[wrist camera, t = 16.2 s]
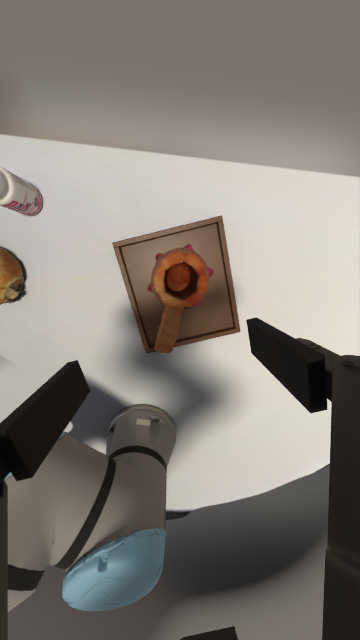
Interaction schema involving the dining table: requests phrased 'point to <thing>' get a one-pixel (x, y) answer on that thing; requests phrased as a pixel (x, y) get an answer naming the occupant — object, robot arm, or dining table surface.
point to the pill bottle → (18, 194)
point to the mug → (177, 289)
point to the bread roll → (9, 277)
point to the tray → (217, 302)
